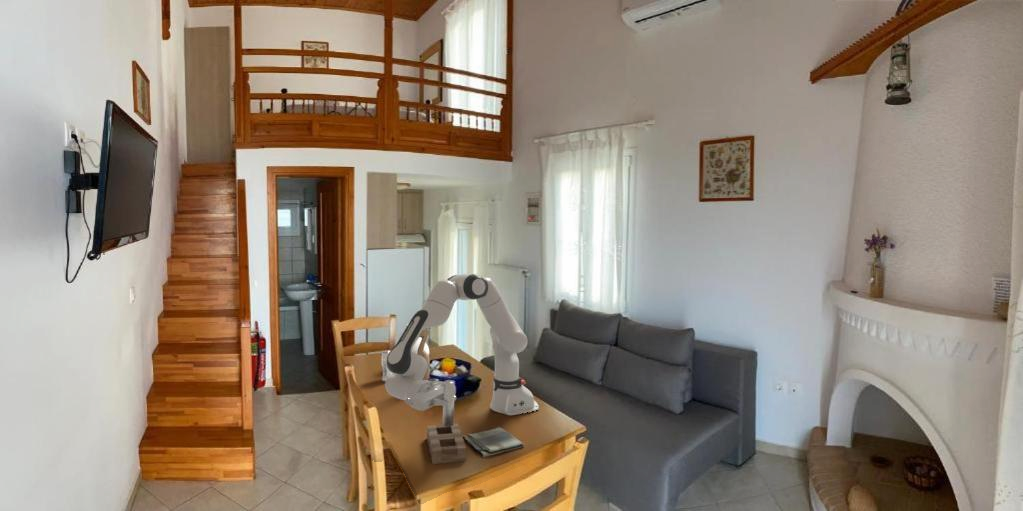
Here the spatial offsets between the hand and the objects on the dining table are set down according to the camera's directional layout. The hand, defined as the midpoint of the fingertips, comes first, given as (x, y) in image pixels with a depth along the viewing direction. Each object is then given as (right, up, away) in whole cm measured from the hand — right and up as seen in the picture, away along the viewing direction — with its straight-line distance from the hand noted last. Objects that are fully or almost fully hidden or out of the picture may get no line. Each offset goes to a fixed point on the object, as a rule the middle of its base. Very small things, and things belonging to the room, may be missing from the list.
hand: (450, 401), depth 177 cm
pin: (-1, -9, +1) cm, 9 cm away
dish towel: (+15, -21, +14) cm, 29 cm away
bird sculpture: (-22, -14, +68) cm, 73 cm away
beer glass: (-43, -12, +78) cm, 90 cm away
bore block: (-3, -20, +7) cm, 22 cm away
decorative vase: (-34, -11, +99) cm, 105 cm away
